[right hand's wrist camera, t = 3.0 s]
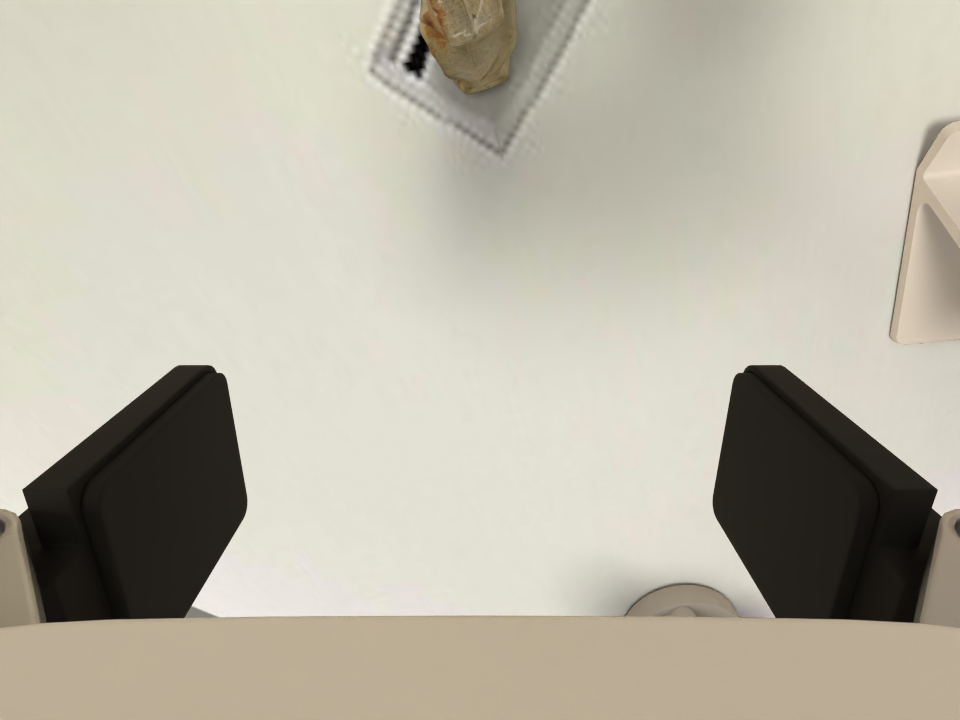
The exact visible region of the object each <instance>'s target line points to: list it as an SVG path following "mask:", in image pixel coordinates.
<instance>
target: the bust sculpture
mask: <svg viewBox="0 0 960 720" xmlns="http://www.w3.org/2000/svg"><path fill="white" fill-rule="evenodd" d="M626 616H656V617H736V618H739V616H738V614H737V612H736V610H735V608H734V607H733V605H732V604H731V602H730V601H729V600H728V599H727V598H726V597H724V596H723V595H722V594H720V593H718V592H716V591H714V590H712V589H709V588H706V587H702V586H697V585H677V586H671V587H666V588H663V589H660V590H657V591H655V592H653V593H651V594H649V595H647V596H645V597H644V598H642V599H641V600H640V601H638V602H637V603H636V604H635V605H634V606H633V607H632V608H631V609H630V611H629V612H628V613H627V615H626Z"/></svg>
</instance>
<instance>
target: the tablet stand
mask: <svg viewBox="0 0 960 720" xmlns="http://www.w3.org/2000/svg"><path fill="white" fill-rule="evenodd" d="M890 336H891V339H892V340H894V341H895V342H897V343H899V344H901V345H908V344H919V343H929V342H939V341H949V340H959V339H960V121H956V122H953V123H950V124H949V125H947V126H946V127H944V128H943V129H942V130H941V132H940V133H939V135H938V136H937V138H936V139H935V141H934V143H933V144H932V146H931V147H930V149H929V151H928V152H927V154H926V156H925V157H924V159H923V160H922V162H921V164H920V165H919V167H918V168H917V171H916V177H915V183H914V189H913V196H912V202H911V208H910V214H909V221H908V227H907V233H906V240H905V246H904V252H903V258H902V265H901V271H900V277H899V283H898V290H897V296H896V302H895V308H894V315H893V321H892V327H891V333H890Z"/></svg>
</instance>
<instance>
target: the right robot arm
mask: <svg viewBox="0 0 960 720" xmlns="http://www.w3.org/2000/svg"><path fill="white" fill-rule="evenodd" d="M22 491H23V494H24V496H25V499H26V502H27V505H28V509H27V510H26V511H24V512H23V513H22V514H21V515H20V516H19V517H18V516H17V515H16V513H13V512H11V511H8V510H5V509H0V720H960V509H955V510H952V511H949V512H947V513H944V515H943V516H942V517H941V516H940V515H939V514H938V513H937V512H936V511H934V510H933V509H932V505H933V502H934V499H935V496H936V494H937V491H938V490H937V489H936V488H935V487H934V486H932V485H931V484H930V483H929V482H927V481H926V480H925V479H924V478H922V477H921V476H920V475H919V474H917V473H916V472H915V471H914V470H912V469H911V468H910V467H909V466H907V465H906V464H905V463H904V462H902V461H901V460H900V459H899V458H897V457H896V456H895V455H894V454H892V453H891V452H890V451H889V450H887V449H886V448H885V447H884V446H882V445H881V444H880V443H879V442H877V441H876V440H875V439H874V438H872V437H871V436H870V435H869V434H867V433H866V432H865V431H864V430H863V429H861V428H860V427H859V426H858V425H856V424H855V423H854V422H853V421H851V420H850V419H849V418H848V417H846V416H845V415H844V414H843V413H841V412H840V411H839V410H838V409H836V408H835V407H834V406H833V405H831V404H830V403H829V402H828V401H826V400H825V399H824V398H823V397H821V396H820V395H819V394H818V393H816V392H815V391H814V390H813V389H811V388H810V387H809V386H808V385H806V384H805V383H804V382H803V381H801V380H800V379H799V378H798V377H796V376H795V375H794V374H793V373H791V372H790V371H789V370H788V369H786V368H785V367H783V366H781V365H751V366H748V367H747V368H746V369H745V370H744V372H743V373H738V374H737V375H736V376H735V378H734V380H733V385H732V390H731V396H730V402H729V408H728V413H727V419H726V425H725V431H724V436H723V442H722V448H721V453H720V459H719V465H718V471H717V476H716V482H715V488H714V494H713V510H714V514H715V516H716V518H717V520H718V522H719V524H720V525H721V527H722V529H723V530H724V532H725V534H726V535H727V537H728V539H729V540H730V542H731V544H732V545H733V547H734V549H735V550H736V552H737V554H738V555H739V557H740V559H741V560H742V562H743V564H744V565H745V567H746V569H747V570H748V572H749V574H750V575H751V577H752V579H753V580H754V582H755V584H756V585H757V587H758V589H759V590H760V592H761V594H762V595H763V597H764V599H765V601H766V602H767V604H768V606H769V607H770V609H771V611H772V612H773V614H774V616H775V617H776V618H736V617H656V616H304V617H223V618H184V617H185V616H186V614H187V612H188V611H189V609H190V607H191V606H192V604H193V602H194V601H195V599H196V597H197V595H198V594H199V592H200V590H201V589H202V587H203V585H204V584H205V582H206V580H207V579H208V577H209V575H210V574H211V572H212V570H213V569H214V567H215V565H216V564H217V562H218V560H219V559H220V557H221V555H222V554H223V552H224V550H225V549H226V547H227V545H228V544H229V542H230V540H231V539H232V537H233V535H234V534H235V532H236V530H237V529H238V527H239V525H240V524H241V522H242V520H243V518H244V516H245V514H246V510H247V494H246V488H245V482H244V476H243V471H242V465H241V459H240V453H239V448H238V442H237V436H236V431H235V425H234V419H233V413H232V408H231V402H230V396H229V390H228V385H227V380H226V378H225V376H224V375H223V374H222V373H217V372H216V370H215V369H214V368H213V367H212V366H209V365H179V366H177V367H175V368H174V369H172V370H171V371H170V372H169V373H167V374H166V375H165V376H164V377H162V378H161V379H160V380H159V381H157V382H156V383H155V384H154V385H152V386H151V387H150V388H149V389H147V390H146V391H145V392H144V393H142V394H141V395H140V396H139V397H137V398H136V399H135V400H134V401H132V402H131V403H130V404H129V405H127V406H126V407H125V408H124V409H122V410H121V411H120V412H119V413H117V414H116V415H115V416H114V417H112V418H111V419H110V420H109V421H107V422H106V423H105V424H104V425H102V426H101V427H100V428H99V429H97V430H96V431H95V432H94V433H92V434H91V435H90V436H89V437H88V438H86V439H85V440H84V441H83V442H81V443H80V444H79V445H78V446H76V447H75V448H74V449H73V450H71V451H70V452H69V453H68V454H66V455H65V456H64V457H63V458H61V459H60V460H59V461H58V462H56V463H55V464H54V465H53V466H51V467H50V468H49V469H48V470H46V471H45V472H44V473H43V474H41V475H40V476H39V477H38V478H36V479H35V480H34V481H33V482H31V483H30V484H29V485H28V486H26V487H25V488H24V489H23V490H22Z"/></svg>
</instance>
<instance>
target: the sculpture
mask: <svg viewBox="0 0 960 720" xmlns="http://www.w3.org/2000/svg"><path fill="white" fill-rule="evenodd" d="M420 21H421V23H420V26H419V30H420V32H421V34H422V36H423V38H424V40H425V41H426V43H427V45H428V47H429V49H430V51H431V54H432V55H433V56H434V58H435V59H436V61H437V62H438V64H439V65H440V67H441V68H442V70H443V72H444V74H445V76H447V77H448V78H450V79H453V81H454V82H455V83H456V85H457V86H458V87H459V88H460V89H461V90H462V91H463V92H464V93H465V94H474V93H477V92H481V91H484V90H487V89H489V88H492V87H494V86H496V85H499V84H501V83H503V82H505V81H506V80H507V79H508V76H509V67H510V54H511V53H512V51H513V50H514V48H515V46H516V41H517V29H516V1H515V0H421V10H420Z"/></svg>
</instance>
